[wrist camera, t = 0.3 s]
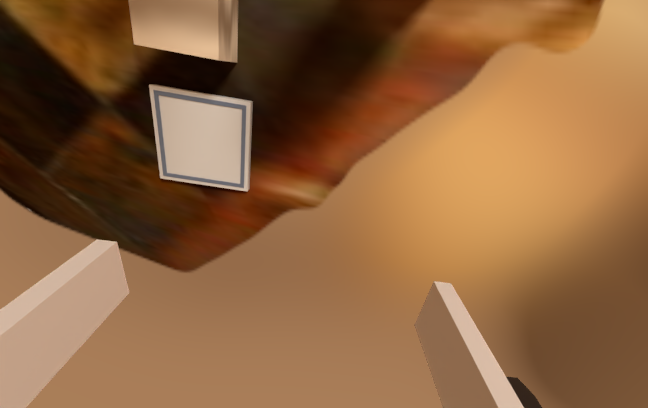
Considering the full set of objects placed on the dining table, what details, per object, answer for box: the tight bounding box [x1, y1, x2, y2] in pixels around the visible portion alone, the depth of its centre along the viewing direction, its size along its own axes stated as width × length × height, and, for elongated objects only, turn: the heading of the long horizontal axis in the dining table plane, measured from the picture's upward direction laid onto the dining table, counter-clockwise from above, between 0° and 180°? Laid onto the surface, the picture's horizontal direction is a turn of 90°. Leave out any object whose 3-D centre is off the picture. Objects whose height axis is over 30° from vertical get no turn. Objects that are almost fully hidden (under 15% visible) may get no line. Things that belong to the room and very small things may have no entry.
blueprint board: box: [149, 84, 253, 192], centre depth 35 cm, size 12×12×1 cm
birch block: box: [128, 0, 238, 63], centre depth 26 cm, size 8×8×6 cm
